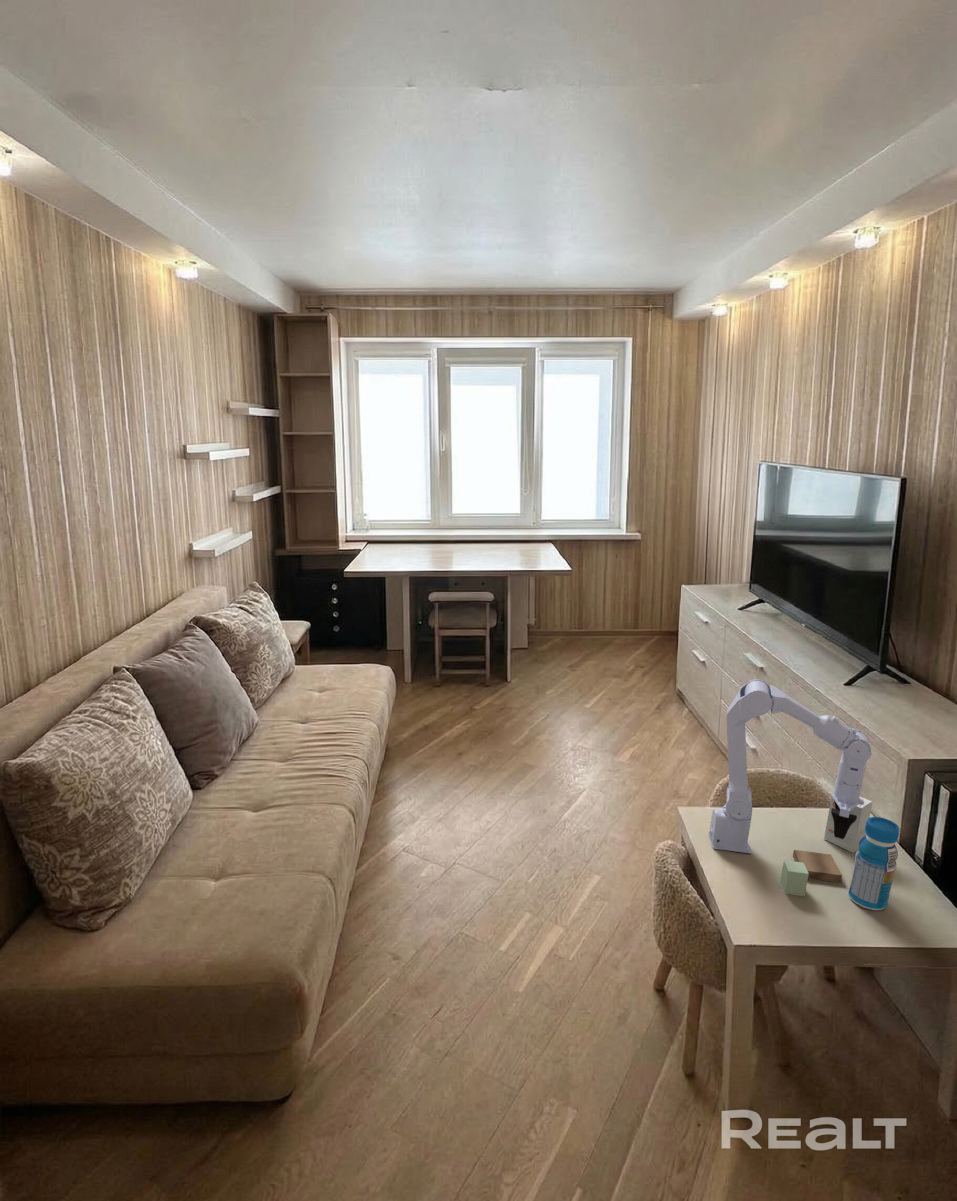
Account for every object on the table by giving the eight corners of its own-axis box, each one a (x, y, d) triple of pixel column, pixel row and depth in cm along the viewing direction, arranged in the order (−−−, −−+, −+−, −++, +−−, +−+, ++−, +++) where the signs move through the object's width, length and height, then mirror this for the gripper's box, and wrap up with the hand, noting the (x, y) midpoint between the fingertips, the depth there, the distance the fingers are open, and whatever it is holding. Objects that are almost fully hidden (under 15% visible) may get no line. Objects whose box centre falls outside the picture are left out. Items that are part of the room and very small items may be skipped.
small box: (864, 845, 200) (873, 801, 197) (853, 853, 196) (862, 808, 193) (834, 832, 206) (842, 788, 203) (822, 839, 202) (831, 795, 199)
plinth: (801, 877, 185) (803, 870, 184) (792, 856, 193) (793, 849, 193) (840, 882, 184) (841, 875, 183) (829, 861, 192) (830, 854, 192)
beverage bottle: (852, 908, 174) (868, 830, 169) (843, 886, 182) (858, 811, 177) (892, 915, 172) (909, 836, 167) (881, 893, 180) (898, 817, 175)
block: (784, 893, 178) (788, 871, 177) (780, 882, 183) (783, 860, 181) (804, 896, 178) (808, 873, 176) (799, 884, 182) (803, 862, 180)
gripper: (867, 797, 177) (856, 849, 180) (867, 773, 190) (857, 821, 193) (834, 789, 180) (824, 840, 183) (836, 765, 193) (827, 813, 196)
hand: (839, 830), depth 188 cm, fingers open, 7 cm apart
